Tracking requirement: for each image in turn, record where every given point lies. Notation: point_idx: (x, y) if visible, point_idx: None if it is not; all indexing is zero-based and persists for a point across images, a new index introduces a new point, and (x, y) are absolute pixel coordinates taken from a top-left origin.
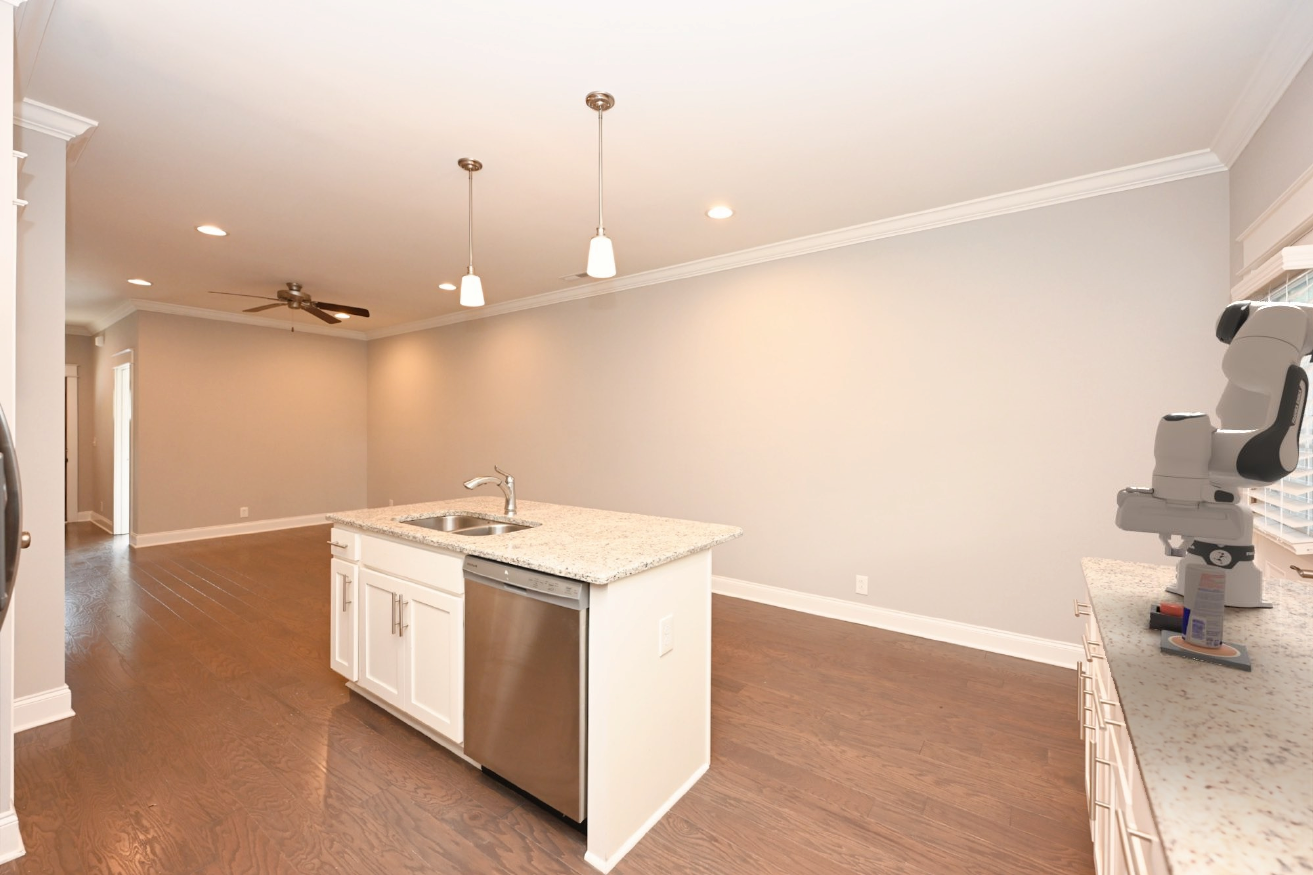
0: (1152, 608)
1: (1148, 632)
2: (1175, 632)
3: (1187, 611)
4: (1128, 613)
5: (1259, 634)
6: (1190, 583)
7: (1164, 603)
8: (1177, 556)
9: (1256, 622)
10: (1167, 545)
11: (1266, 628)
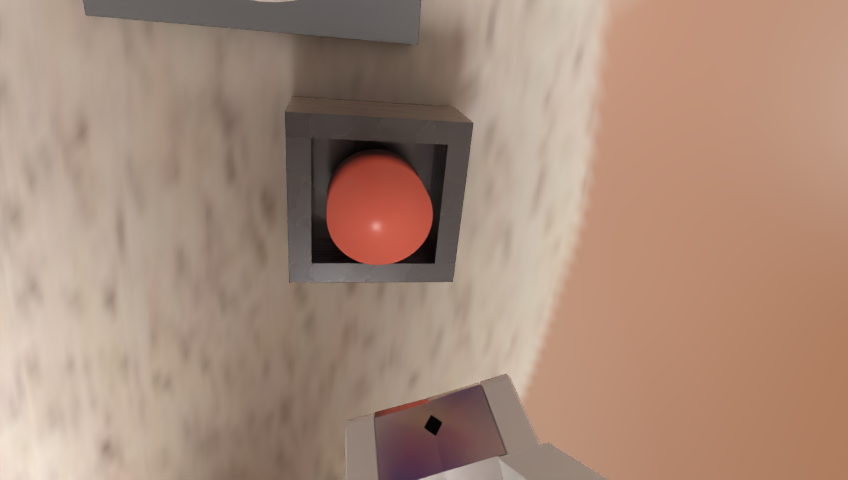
0: (455, 205)
1: (461, 37)
2: (366, 32)
3: None
4: (503, 284)
5: (85, 333)
6: None
7: (413, 238)
8: (417, 402)
9: (113, 477)
10: (566, 464)
11: (76, 428)
